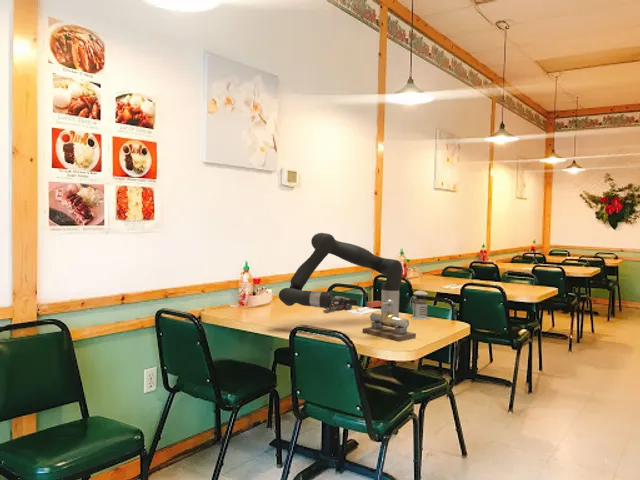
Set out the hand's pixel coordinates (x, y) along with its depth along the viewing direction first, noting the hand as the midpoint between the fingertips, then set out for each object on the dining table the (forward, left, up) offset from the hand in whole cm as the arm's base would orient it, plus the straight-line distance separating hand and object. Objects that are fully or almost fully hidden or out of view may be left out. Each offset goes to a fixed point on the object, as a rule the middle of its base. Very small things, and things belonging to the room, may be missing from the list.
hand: (357, 302), depth 233 cm
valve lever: (+2, +11, -1) cm, 11 cm away
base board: (-2, +16, -16) cm, 22 cm away
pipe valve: (-2, +16, -14) cm, 21 cm away
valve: (-72, +7, -16) cm, 74 cm away
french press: (-42, +48, -16) cm, 65 cm away
